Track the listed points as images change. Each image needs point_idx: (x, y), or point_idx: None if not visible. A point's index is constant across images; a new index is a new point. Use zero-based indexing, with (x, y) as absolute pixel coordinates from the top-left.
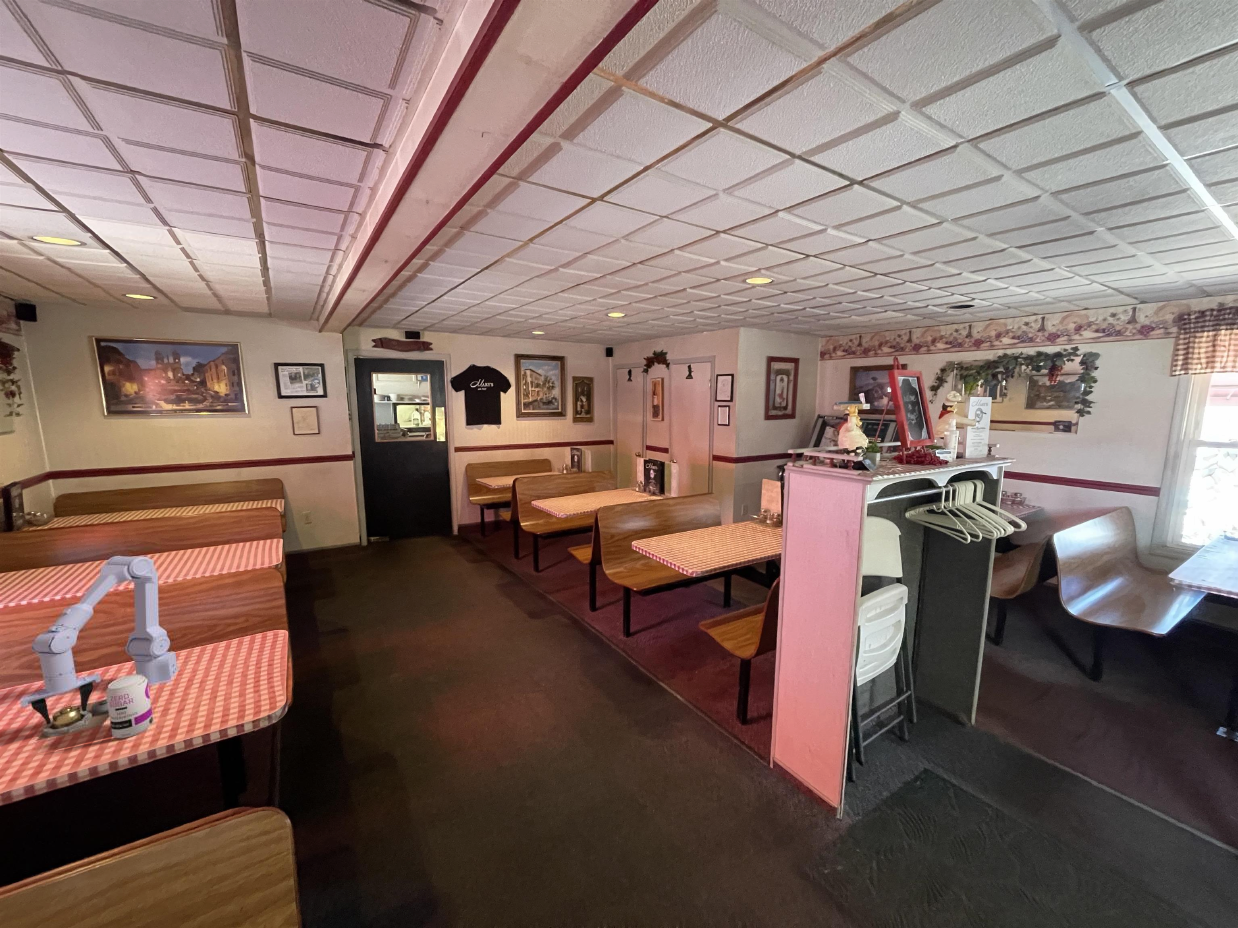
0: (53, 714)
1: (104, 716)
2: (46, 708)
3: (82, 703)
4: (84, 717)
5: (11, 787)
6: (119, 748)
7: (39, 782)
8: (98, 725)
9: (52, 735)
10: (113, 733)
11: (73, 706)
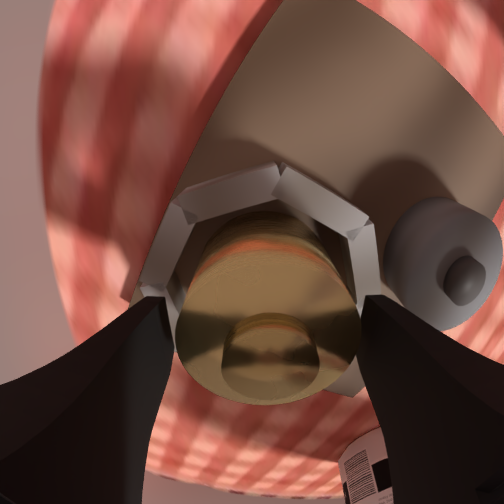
0: (181, 321)
1: None
2: (137, 499)
3: (378, 405)
4: None
5: None
6: (323, 480)
7: (183, 481)
8: (350, 386)
9: None
10: (340, 472)
11: (336, 297)
